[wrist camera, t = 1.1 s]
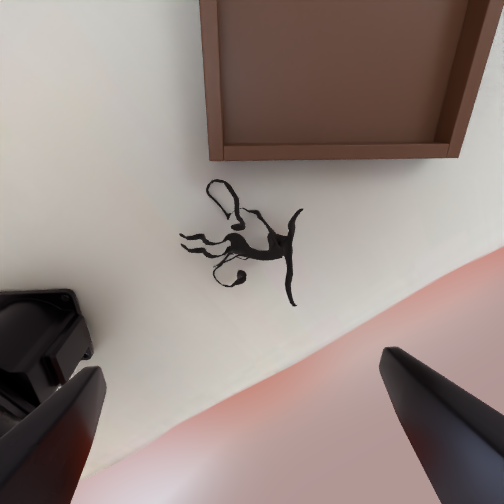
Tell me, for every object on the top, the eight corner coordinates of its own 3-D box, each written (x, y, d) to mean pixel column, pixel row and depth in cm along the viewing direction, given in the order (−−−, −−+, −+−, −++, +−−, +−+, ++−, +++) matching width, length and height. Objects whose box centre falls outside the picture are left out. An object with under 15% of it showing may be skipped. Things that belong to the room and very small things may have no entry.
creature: (194, 277, 22) (296, 283, 21) (165, 320, 17) (296, 332, 16) (182, 175, 19) (303, 177, 18) (143, 195, 14) (305, 199, 13)
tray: (211, 156, 18) (209, 161, 16) (190, -188, 12) (183, -247, 10) (435, 154, 19) (458, 158, 17) (518, -164, 13) (569, -213, 11)
